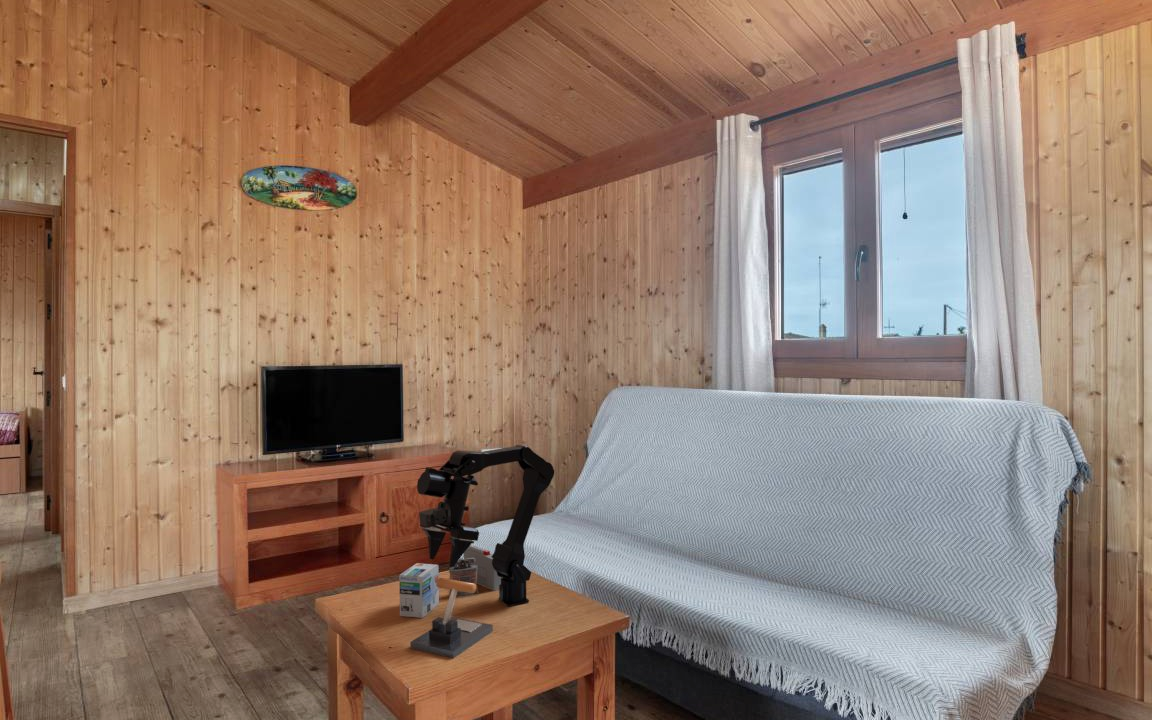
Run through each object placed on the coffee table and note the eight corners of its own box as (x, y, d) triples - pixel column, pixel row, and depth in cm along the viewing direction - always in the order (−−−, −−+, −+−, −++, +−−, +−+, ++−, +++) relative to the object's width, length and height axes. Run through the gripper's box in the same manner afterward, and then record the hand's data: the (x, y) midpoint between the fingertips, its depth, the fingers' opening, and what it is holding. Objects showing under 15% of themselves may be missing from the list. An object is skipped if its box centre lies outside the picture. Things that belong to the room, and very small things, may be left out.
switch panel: (452, 622, 167) (452, 601, 167) (492, 630, 161) (492, 608, 161) (410, 648, 152) (410, 624, 152) (453, 658, 147) (453, 633, 147)
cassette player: (502, 588, 191) (501, 554, 191) (494, 591, 189) (494, 556, 189) (471, 576, 203) (471, 543, 202) (464, 578, 201) (463, 545, 201)
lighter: (450, 598, 184) (450, 562, 184) (448, 594, 187) (447, 559, 187) (479, 594, 187) (478, 558, 187) (476, 590, 190) (475, 555, 190)
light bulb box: (423, 618, 170) (422, 576, 170) (398, 616, 171) (398, 575, 171) (439, 603, 180) (439, 563, 180) (416, 601, 181) (416, 562, 181)
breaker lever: (430, 622, 157) (442, 579, 162) (465, 629, 153) (477, 584, 157) (424, 620, 155) (437, 576, 160) (460, 627, 151) (472, 582, 156)
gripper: (409, 491, 171) (394, 553, 167) (448, 501, 157) (433, 568, 154) (445, 497, 178) (432, 556, 175) (486, 507, 164) (472, 571, 161)
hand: (441, 562), depth 166 cm, fingers open, 9 cm apart
